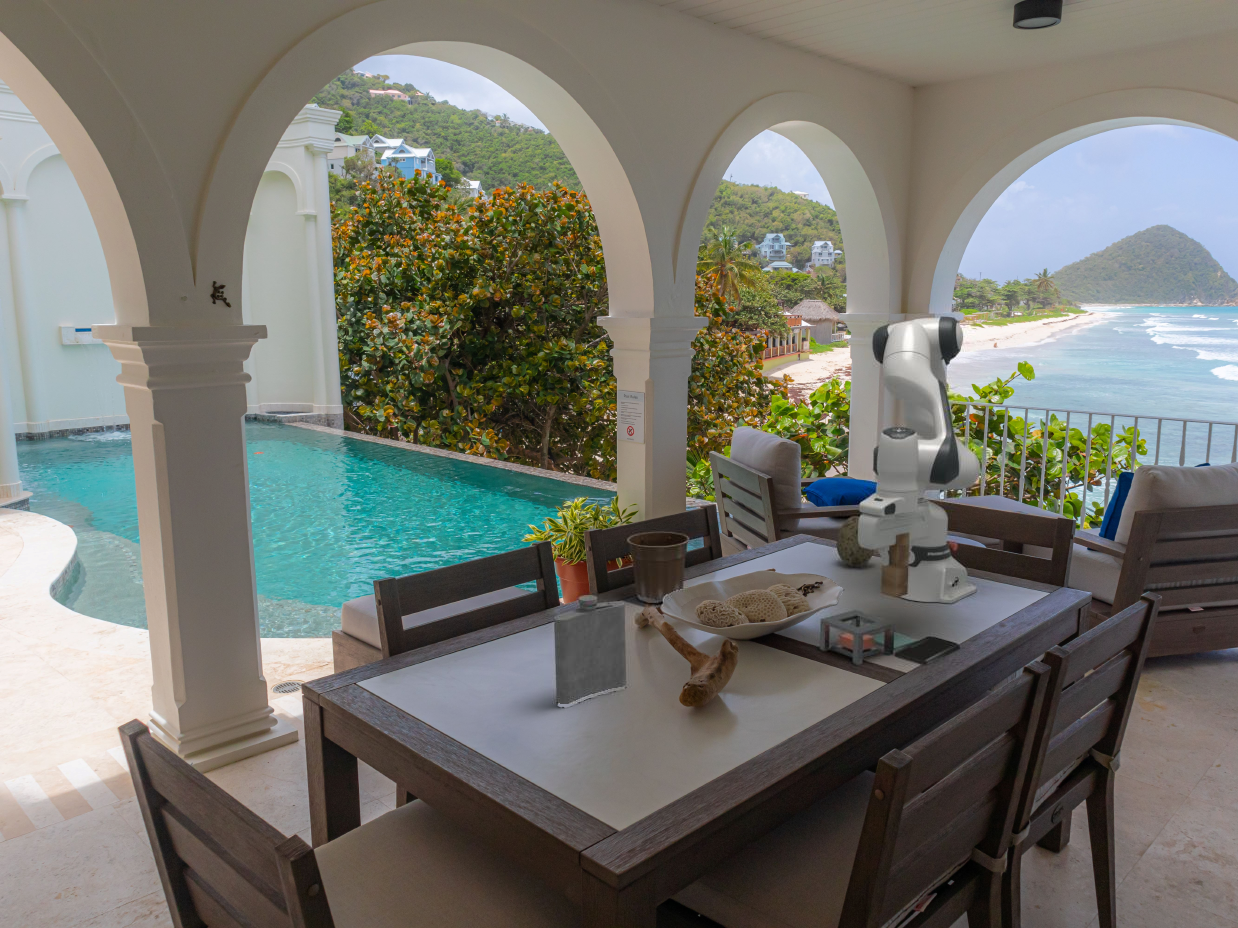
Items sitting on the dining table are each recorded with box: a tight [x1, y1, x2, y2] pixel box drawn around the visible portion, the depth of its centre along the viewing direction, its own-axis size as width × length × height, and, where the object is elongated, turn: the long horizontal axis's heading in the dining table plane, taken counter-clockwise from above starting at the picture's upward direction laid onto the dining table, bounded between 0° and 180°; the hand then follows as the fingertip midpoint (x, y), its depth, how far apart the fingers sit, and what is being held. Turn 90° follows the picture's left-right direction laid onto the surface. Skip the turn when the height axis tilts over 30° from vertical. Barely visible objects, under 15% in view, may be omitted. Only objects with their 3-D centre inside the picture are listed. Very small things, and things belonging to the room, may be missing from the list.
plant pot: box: [626, 531, 690, 600], centre depth 232 cm, size 16×16×16 cm
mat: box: [871, 631, 920, 651], centre depth 199 cm, size 8×8×1 cm
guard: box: [819, 609, 895, 666], centre depth 192 cm, size 11×11×7 cm
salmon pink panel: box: [838, 632, 875, 650], centre depth 192 cm, size 5×5×2 cm
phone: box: [894, 635, 961, 666], centre depth 192 cm, size 8×1×15 cm
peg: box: [880, 533, 910, 598], centre depth 195 cm, size 4×4×14 cm
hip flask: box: [553, 594, 627, 704], centre depth 171 cm, size 16×4×20 cm, turn 127°
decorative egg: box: [836, 515, 875, 568], centre depth 258 cm, size 11×11×15 cm
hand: (894, 562), depth 196 cm, fingers closed on peg, 4 cm apart
